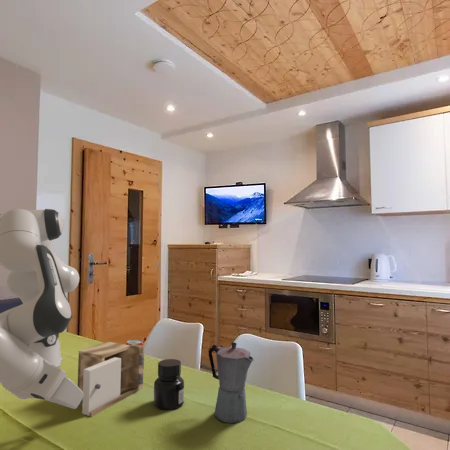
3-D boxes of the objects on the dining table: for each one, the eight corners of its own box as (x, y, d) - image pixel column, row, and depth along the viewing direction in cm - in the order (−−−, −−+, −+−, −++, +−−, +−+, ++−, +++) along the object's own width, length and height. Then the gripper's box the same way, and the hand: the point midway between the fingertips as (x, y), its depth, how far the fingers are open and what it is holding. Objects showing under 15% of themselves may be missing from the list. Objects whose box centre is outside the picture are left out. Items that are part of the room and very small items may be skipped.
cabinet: (56, 406, 97) (58, 357, 98) (110, 381, 116) (112, 340, 117) (95, 418, 91) (96, 365, 92) (145, 389, 109) (146, 346, 110)
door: (82, 413, 93) (83, 369, 94) (114, 396, 104) (115, 357, 104) (90, 416, 91) (92, 371, 92) (122, 399, 102) (123, 358, 103)
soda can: (138, 379, 118) (139, 344, 119) (120, 377, 119) (120, 343, 120) (146, 372, 125) (147, 339, 126) (129, 370, 126) (130, 338, 127)
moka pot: (245, 431, 85) (245, 350, 86) (196, 415, 93) (197, 341, 94) (261, 415, 93) (261, 341, 94) (215, 401, 101) (216, 334, 102)
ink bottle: (188, 407, 97) (189, 365, 98) (158, 414, 93) (159, 370, 94) (177, 394, 106) (178, 356, 107) (150, 400, 102) (150, 359, 103)
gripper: (-7, 382, 81) (30, 406, 89) (49, 399, 72) (85, 424, 80) (13, 357, 85) (47, 383, 93) (68, 370, 76) (100, 398, 84)
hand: (65, 402), depth 86 cm, fingers closed
